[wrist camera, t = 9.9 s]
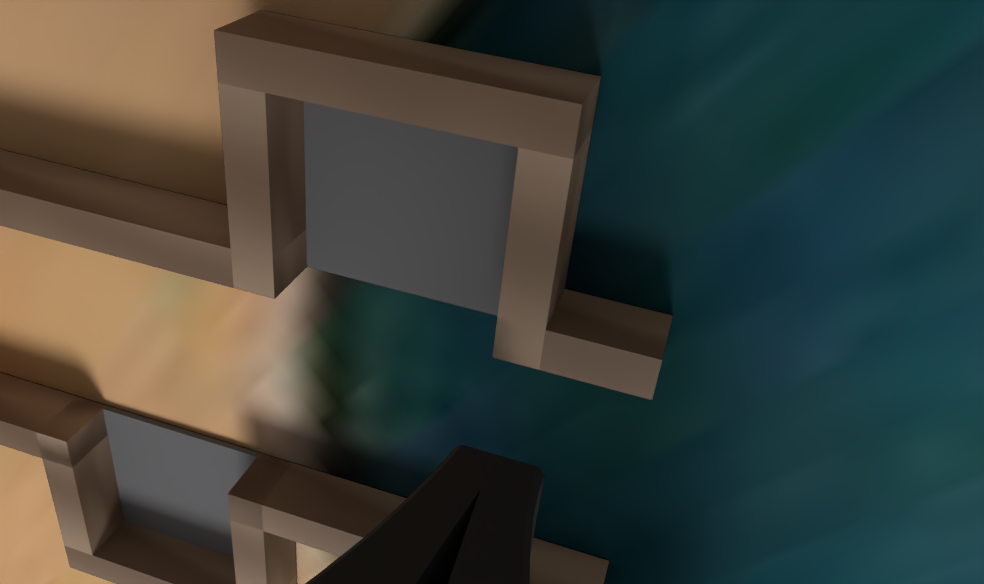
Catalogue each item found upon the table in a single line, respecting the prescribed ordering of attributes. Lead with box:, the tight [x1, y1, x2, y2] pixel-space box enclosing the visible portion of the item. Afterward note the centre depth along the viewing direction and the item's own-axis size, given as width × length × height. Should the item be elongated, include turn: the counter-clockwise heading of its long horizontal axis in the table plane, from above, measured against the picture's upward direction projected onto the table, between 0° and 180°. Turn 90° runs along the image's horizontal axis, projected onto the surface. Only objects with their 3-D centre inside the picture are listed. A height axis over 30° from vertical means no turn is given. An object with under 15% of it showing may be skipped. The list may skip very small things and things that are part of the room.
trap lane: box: [0, 10, 673, 584], centre depth 26 cm, size 22×31×3 cm
